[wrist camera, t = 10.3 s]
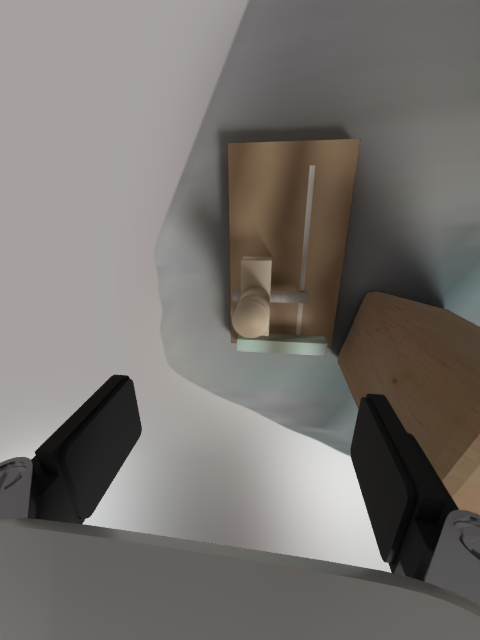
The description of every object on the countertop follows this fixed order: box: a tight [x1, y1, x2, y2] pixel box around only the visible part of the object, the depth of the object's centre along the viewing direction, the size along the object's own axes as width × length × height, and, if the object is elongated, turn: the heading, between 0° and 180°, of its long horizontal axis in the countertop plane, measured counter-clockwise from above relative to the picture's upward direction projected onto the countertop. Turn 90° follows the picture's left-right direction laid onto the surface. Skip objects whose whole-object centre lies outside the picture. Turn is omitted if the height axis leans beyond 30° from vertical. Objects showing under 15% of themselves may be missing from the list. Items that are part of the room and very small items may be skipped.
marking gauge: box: [232, 256, 309, 338], centre depth 25 cm, size 8×8×9 cm
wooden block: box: [338, 291, 480, 515], centre depth 23 cm, size 10×10×20 cm
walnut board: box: [228, 139, 360, 356], centre depth 28 cm, size 12×21×4 cm, turn 0°
